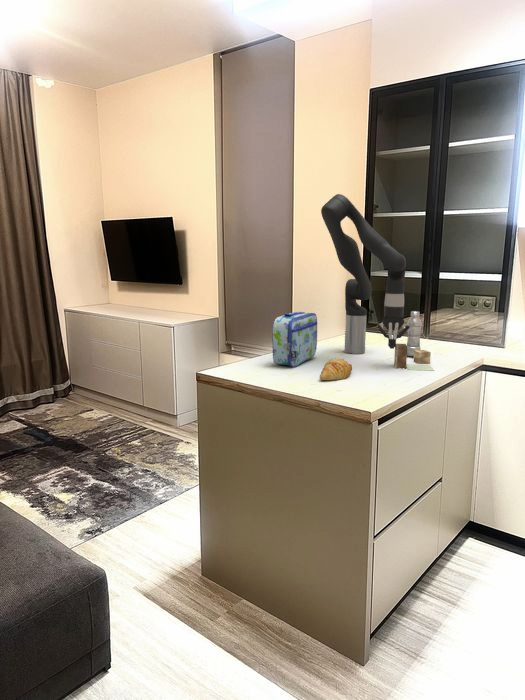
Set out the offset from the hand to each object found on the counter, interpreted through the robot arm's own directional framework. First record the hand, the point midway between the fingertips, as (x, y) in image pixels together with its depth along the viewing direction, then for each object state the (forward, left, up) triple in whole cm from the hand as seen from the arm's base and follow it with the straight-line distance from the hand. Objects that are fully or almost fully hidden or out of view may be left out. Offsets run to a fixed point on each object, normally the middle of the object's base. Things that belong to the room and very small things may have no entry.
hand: (391, 348), depth 208 cm
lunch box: (-39, +2, -8) cm, 40 cm away
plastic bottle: (+12, +22, -8) cm, 26 cm away
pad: (+11, 0, -8) cm, 13 cm away
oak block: (+14, +10, -8) cm, 19 cm away
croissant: (-22, -20, -8) cm, 31 cm away
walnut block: (+4, 0, -8) cm, 8 cm away
